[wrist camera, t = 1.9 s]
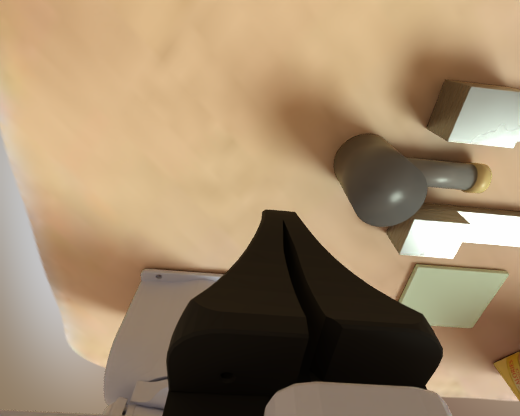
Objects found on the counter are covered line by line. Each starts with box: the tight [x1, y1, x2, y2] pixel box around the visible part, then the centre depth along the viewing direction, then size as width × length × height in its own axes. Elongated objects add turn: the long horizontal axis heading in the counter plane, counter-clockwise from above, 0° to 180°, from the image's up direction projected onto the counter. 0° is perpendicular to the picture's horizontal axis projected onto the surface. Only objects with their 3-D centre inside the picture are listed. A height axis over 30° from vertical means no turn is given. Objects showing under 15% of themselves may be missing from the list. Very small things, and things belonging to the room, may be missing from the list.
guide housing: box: [386, 80, 520, 259], centre depth 20 cm, size 12×11×3 cm
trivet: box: [399, 264, 509, 328], centre depth 28 cm, size 8×7×1 cm
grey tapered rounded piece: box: [334, 134, 492, 227], centre depth 19 cm, size 10×4×5 cm, turn 84°
